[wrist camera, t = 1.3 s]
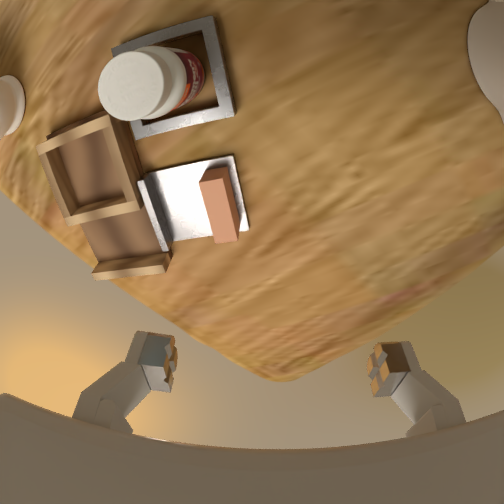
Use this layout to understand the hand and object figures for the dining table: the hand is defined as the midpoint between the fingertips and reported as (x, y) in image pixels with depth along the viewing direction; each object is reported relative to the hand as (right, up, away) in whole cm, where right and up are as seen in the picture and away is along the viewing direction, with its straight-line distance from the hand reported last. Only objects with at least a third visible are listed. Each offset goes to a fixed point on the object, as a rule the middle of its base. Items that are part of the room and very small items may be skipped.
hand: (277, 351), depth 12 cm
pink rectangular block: (-4, +10, +22) cm, 25 cm away
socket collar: (-9, +21, +15) cm, 27 cm away
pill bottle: (-9, +21, +15) cm, 27 cm away
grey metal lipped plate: (-7, +10, +23) cm, 26 cm away
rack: (-18, +11, +23) cm, 31 cm away
